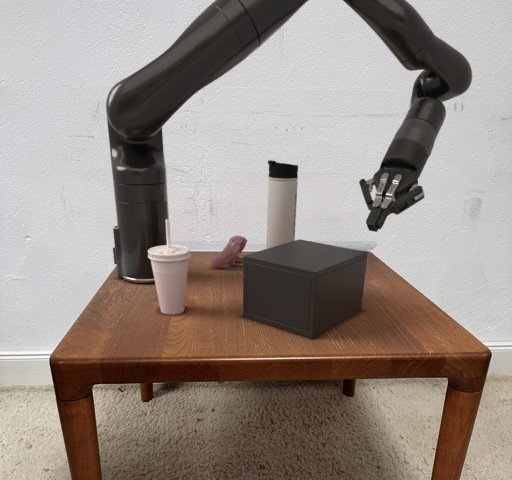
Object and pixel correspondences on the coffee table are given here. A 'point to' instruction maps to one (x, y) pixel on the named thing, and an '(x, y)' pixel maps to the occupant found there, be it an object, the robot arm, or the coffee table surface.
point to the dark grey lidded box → (303, 286)
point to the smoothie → (170, 274)
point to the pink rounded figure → (230, 252)
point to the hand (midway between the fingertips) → (371, 228)
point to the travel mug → (281, 203)
